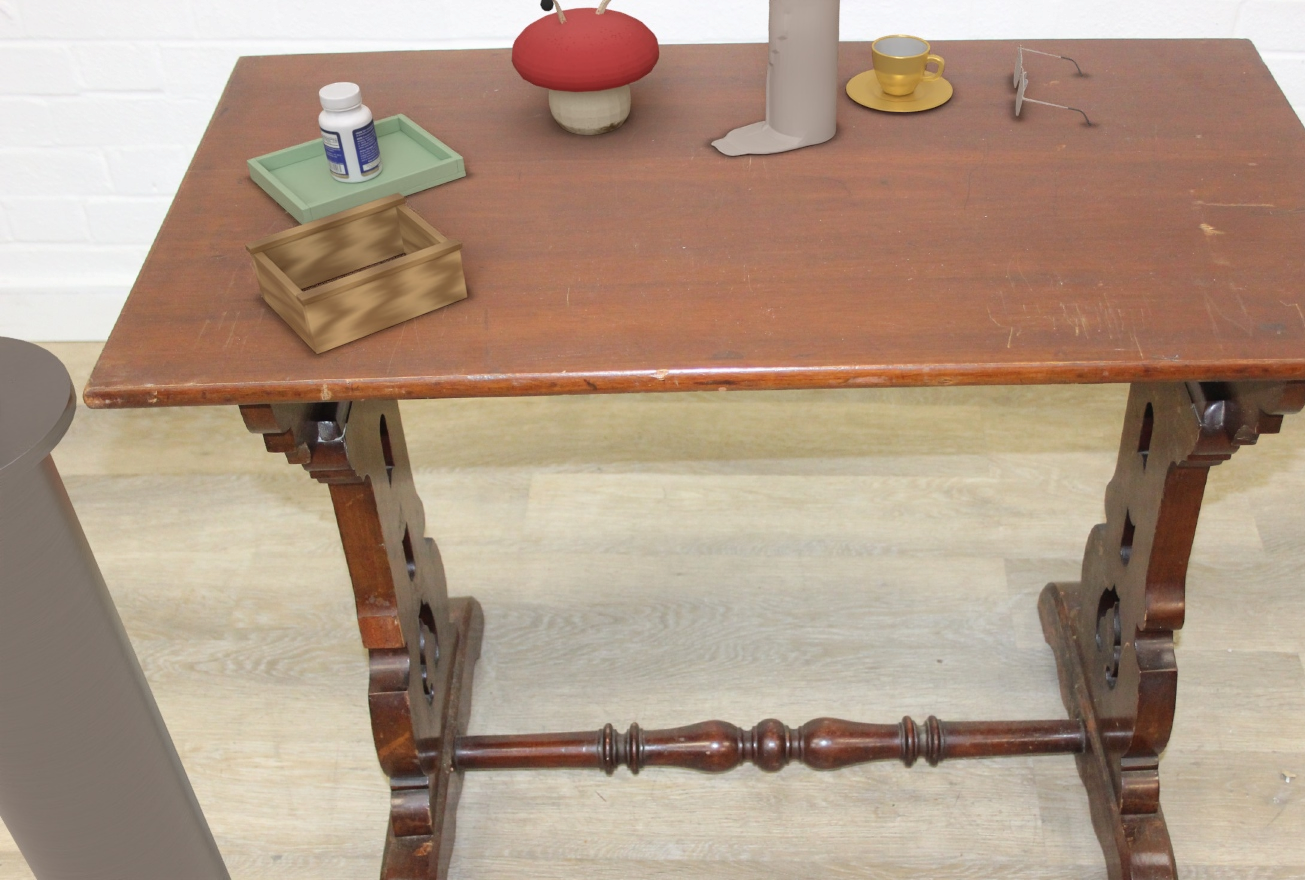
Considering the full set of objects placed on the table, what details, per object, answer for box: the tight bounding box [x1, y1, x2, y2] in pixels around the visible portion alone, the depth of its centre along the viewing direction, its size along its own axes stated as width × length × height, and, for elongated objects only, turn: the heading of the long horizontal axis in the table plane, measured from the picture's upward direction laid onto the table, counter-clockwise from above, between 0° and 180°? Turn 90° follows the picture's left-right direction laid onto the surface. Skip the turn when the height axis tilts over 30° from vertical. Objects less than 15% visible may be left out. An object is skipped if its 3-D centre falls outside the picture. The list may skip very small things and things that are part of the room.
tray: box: [246, 113, 467, 225], centre depth 144 cm, size 18×14×2 cm
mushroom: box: [511, 0, 660, 136], centre depth 149 cm, size 16×16×15 cm
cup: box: [845, 34, 954, 113], centre depth 157 cm, size 12×12×5 cm
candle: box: [710, 0, 841, 157], centre depth 144 cm, size 7×14×20 cm, turn 116°
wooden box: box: [244, 193, 468, 355], centre depth 124 cm, size 15×12×6 cm
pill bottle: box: [318, 81, 383, 183], centre depth 141 cm, size 5×5×9 cm
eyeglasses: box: [1013, 44, 1092, 126], centre depth 156 cm, size 14×8×4 cm, turn 173°
